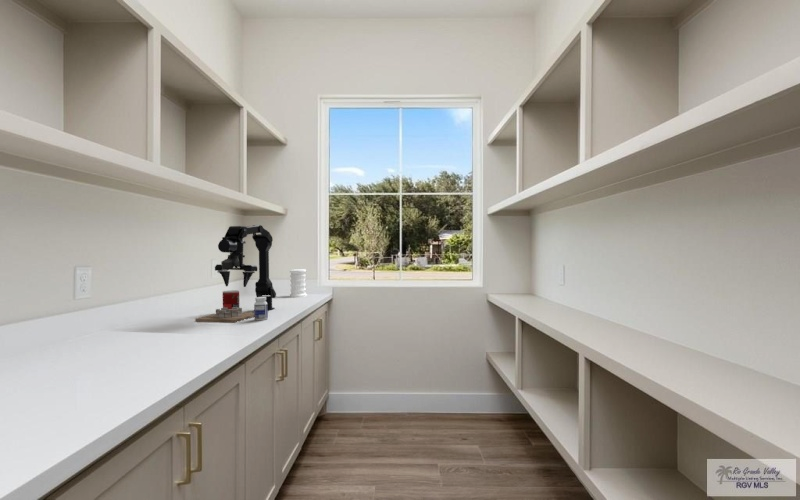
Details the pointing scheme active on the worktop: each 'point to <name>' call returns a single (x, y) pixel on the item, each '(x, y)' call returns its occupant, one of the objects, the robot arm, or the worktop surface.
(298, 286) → the decorative container
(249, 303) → the worktop surface
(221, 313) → the nut base
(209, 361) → the worktop surface
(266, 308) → the pill bottle
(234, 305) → the canned food
